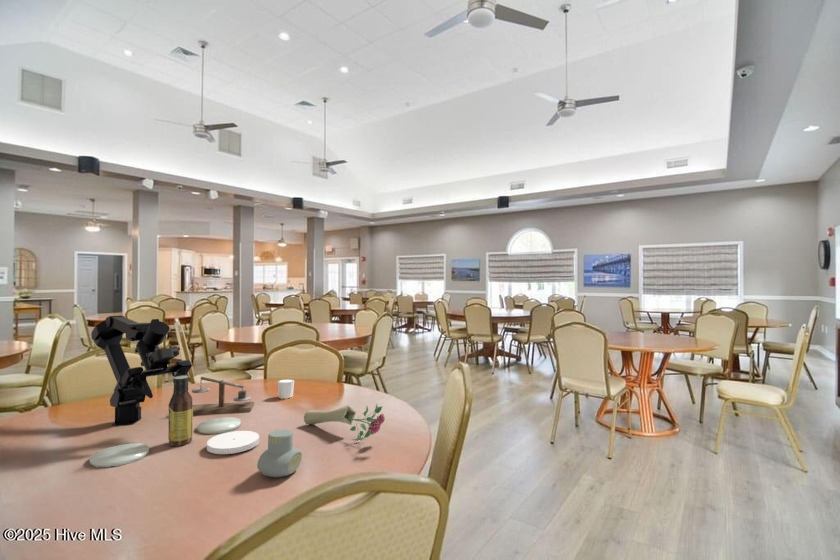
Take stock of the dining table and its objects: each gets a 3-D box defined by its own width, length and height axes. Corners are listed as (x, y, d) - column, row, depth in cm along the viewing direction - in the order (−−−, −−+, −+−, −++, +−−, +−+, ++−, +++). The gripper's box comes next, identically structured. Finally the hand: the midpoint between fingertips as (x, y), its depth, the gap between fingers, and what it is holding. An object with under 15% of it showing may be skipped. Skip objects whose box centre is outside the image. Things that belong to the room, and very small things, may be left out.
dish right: (191, 435, 127) (191, 431, 127) (203, 422, 140) (203, 418, 140) (236, 432, 130) (236, 428, 130) (244, 419, 143) (244, 416, 143)
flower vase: (320, 444, 140) (400, 443, 122) (291, 444, 131) (373, 443, 112) (323, 409, 145) (401, 403, 126) (296, 406, 135) (375, 399, 117)
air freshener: (284, 484, 97) (284, 442, 97) (252, 481, 98) (253, 439, 98) (304, 464, 107) (305, 426, 108) (276, 462, 109) (276, 424, 109)
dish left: (78, 469, 103) (78, 464, 103) (105, 449, 116) (105, 445, 116) (136, 465, 106) (136, 460, 106) (156, 445, 119) (156, 441, 119)
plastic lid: (206, 461, 109) (206, 452, 109) (206, 443, 122) (206, 435, 122) (261, 452, 116) (261, 443, 116) (256, 436, 128) (256, 428, 128)
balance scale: (185, 415, 147) (186, 379, 147) (192, 408, 154) (193, 374, 155) (250, 411, 152) (251, 377, 152) (254, 405, 159) (254, 372, 160)
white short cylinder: (289, 400, 168) (289, 383, 168) (274, 399, 169) (274, 382, 169) (297, 395, 174) (297, 379, 174) (282, 394, 176) (282, 378, 176)
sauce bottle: (175, 439, 124) (176, 374, 124) (196, 438, 124) (197, 374, 125) (163, 447, 117) (164, 379, 118) (185, 447, 118) (187, 378, 118)
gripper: (126, 341, 120) (144, 384, 115) (189, 335, 136) (208, 372, 131) (114, 365, 124) (130, 407, 119) (176, 356, 140) (193, 393, 135)
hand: (167, 394), depth 125 cm, fingers open, 9 cm apart
